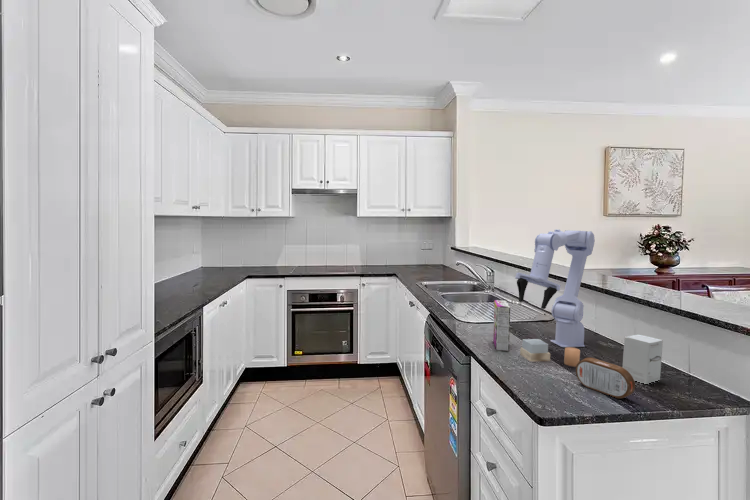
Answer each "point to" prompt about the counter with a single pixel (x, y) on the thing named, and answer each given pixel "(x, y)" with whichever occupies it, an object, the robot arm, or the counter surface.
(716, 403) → the counter surface
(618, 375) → the tin
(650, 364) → the supplement box
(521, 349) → the birch base block
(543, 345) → the grey-blue top block
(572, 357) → the light brown cylinder
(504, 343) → the candy bar box
